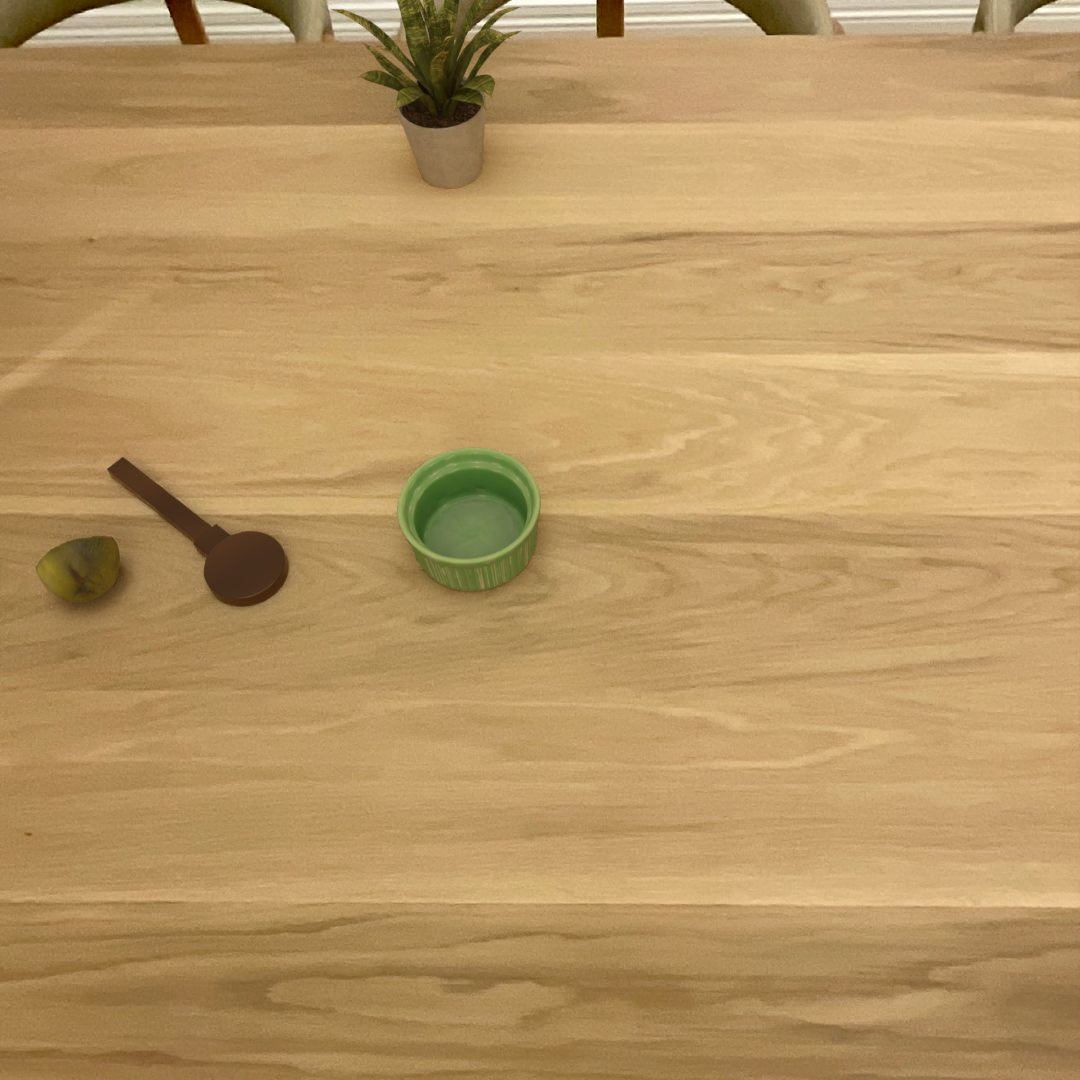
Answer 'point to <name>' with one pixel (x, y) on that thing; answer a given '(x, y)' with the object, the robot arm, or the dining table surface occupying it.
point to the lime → (80, 568)
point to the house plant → (439, 87)
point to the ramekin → (471, 517)
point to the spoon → (215, 544)
